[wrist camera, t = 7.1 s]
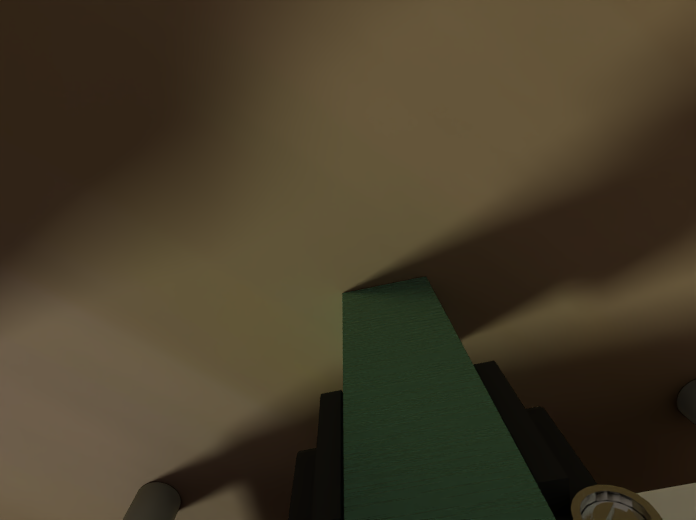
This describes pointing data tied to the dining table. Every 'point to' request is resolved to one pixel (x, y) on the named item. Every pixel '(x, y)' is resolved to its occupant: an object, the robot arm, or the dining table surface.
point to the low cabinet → (671, 503)
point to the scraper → (422, 418)
